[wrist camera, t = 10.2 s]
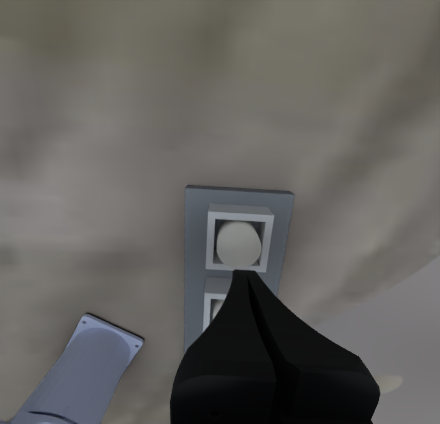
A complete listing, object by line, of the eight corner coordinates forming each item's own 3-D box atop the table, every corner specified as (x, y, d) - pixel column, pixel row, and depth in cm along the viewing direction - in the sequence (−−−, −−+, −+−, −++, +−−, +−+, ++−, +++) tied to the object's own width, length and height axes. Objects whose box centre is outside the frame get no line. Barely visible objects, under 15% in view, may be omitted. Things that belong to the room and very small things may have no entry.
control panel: (260, 366, 27) (266, 402, 24) (186, 362, 27) (180, 397, 23) (289, 191, 20) (305, 201, 16) (187, 185, 20) (179, 194, 16)
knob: (241, 254, 21) (244, 275, 17) (210, 236, 20) (208, 254, 17) (262, 226, 20) (270, 242, 16) (230, 207, 19) (232, 219, 16)
